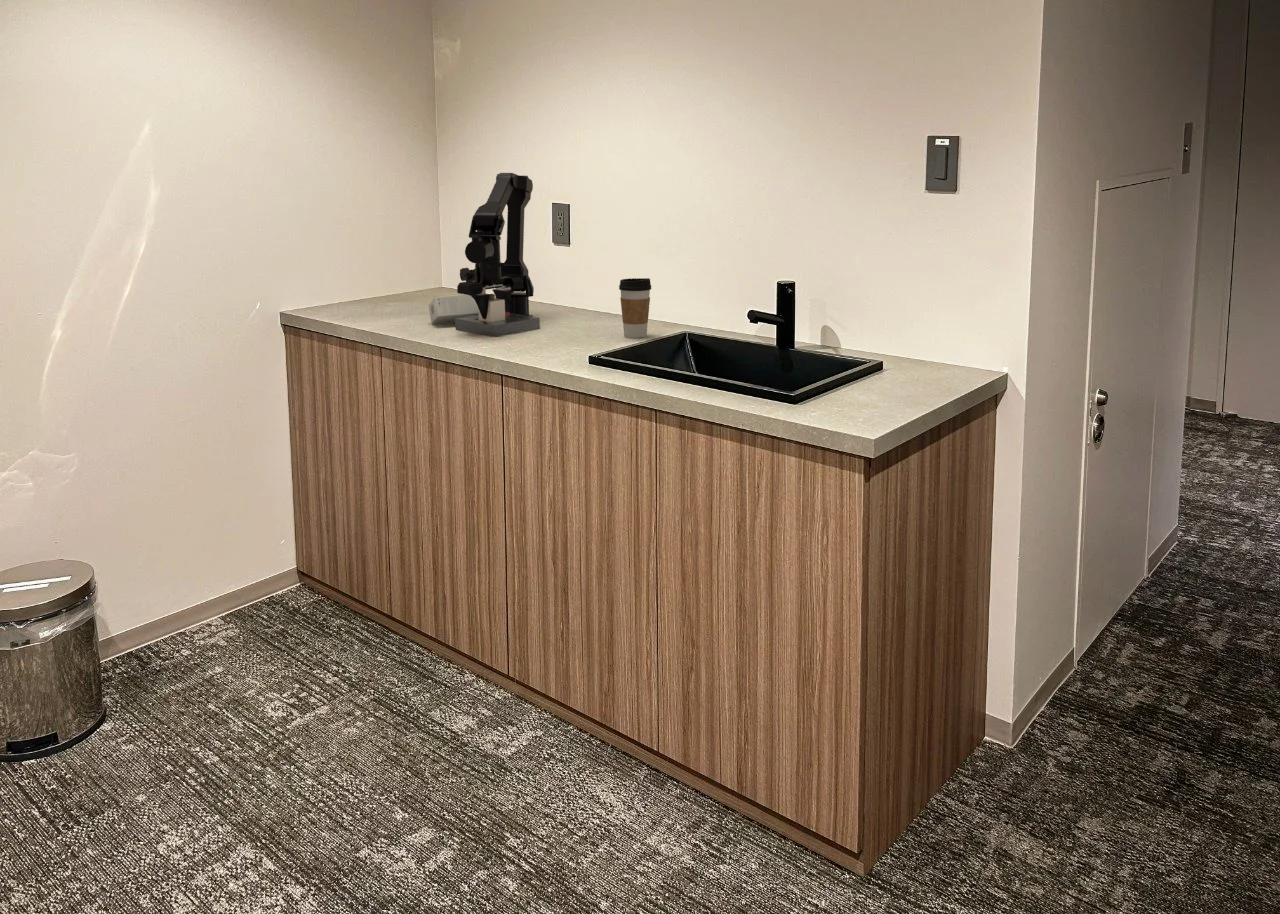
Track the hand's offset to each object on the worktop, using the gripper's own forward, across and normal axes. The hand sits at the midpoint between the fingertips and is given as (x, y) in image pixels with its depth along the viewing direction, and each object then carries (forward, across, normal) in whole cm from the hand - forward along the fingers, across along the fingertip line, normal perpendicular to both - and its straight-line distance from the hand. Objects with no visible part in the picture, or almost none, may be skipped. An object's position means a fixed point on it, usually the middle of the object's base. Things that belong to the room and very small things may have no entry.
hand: (491, 317), depth 311 cm
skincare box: (-1, +6, -18) cm, 19 cm away
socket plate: (+3, -2, 0) cm, 4 cm away
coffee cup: (+4, -18, +35) cm, 40 cm away
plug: (+1, 0, 0) cm, 1 cm away
